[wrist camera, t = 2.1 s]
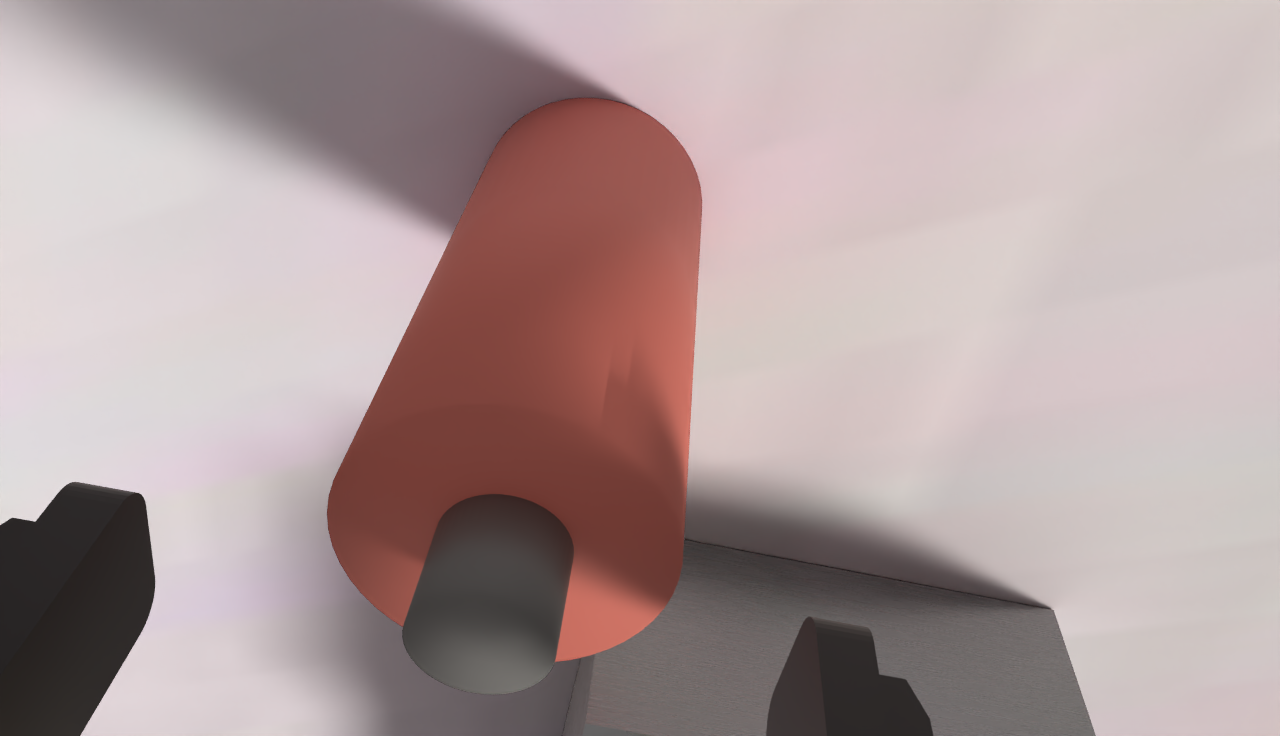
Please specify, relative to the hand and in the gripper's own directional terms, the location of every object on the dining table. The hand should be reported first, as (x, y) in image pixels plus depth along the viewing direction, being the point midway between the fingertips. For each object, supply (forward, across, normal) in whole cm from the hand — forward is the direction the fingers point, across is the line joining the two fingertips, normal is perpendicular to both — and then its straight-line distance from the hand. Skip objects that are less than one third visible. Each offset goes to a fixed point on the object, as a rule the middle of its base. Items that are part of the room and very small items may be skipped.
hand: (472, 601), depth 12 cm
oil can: (+11, 0, 0) cm, 11 cm away
